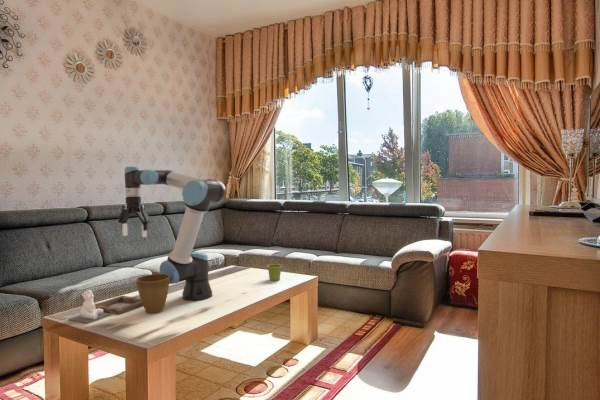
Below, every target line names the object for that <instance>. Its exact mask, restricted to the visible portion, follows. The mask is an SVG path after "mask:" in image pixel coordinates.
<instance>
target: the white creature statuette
mask: <svg viewBox="0 0 600 400" xmlns="http://www.w3.org/2000/svg"><path fill="white" fill-rule="evenodd" d="M81 296H82V297H83V299H84V302H83V304H82V308H81V309H79V310H80V311H79V313H80V314H79V315H81V316H82V317H83V318H87V319H93V320H94V319H96V318H97V316H98V315H99V314H103V313H104V312H103V309H100V308H99V309H96V307H95V304H96V303H95V301H94V293H93V291H92V290H91V289H88V290H85V291H84V292H83V293H81Z"/></svg>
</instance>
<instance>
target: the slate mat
mask: <svg viewBox="0 0 600 400" xmlns="http://www.w3.org/2000/svg"><path fill="white" fill-rule="evenodd" d="M111 315H112V313H106V312H103V314H99V315H98V316H97V318H96V319H94V320H93V319H87V318H83V317H82V316H81V314H79V315H76V316H73V317H69V318H68V319H67V320H68V321H73V322H76V321H77V323H82V322H84V323H83V324H90V323H93V322H95V321H99V320H101V319H104V318H107V317H109V316H111Z"/></svg>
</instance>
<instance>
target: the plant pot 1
mask: <svg viewBox="0 0 600 400" xmlns="http://www.w3.org/2000/svg"><path fill="white" fill-rule="evenodd" d="M169 281H170V276H169V275H167V274H160V273H156V274H155V273H154V274H147V275H146V274H145V275H143V276H139V277H137V278H136V279H135V282H136V286H137V287H136V288H137V291H138V294H139V298H141V301H142V304H143V306H142V307H143V308H144V310H145V312H146V314H150V315H153V314H154V315H155V314H159V313H162V312H163V311H164V309H165V307H166V306H165V305H166V302H167V298H168V293H169V288H170V284H169Z"/></svg>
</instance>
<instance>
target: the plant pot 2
mask: <svg viewBox="0 0 600 400" xmlns="http://www.w3.org/2000/svg"><path fill="white" fill-rule="evenodd" d="M282 267H283V265H282V264H280V263H273V264H271V263H270V264H267V265H266V268H267V270H268V278H269V280H270V281H272V282H274V281H277V282H278V281H280V280H281V274H282V273H281V271H282Z"/></svg>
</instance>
